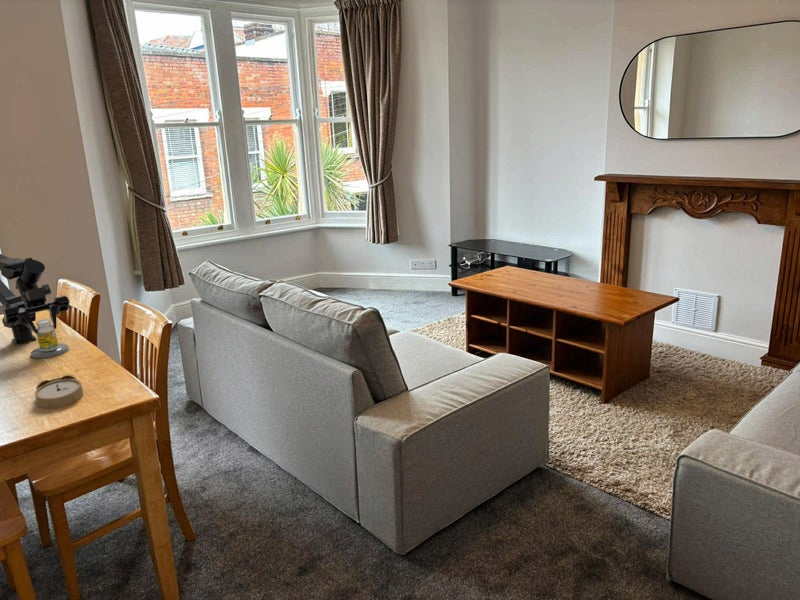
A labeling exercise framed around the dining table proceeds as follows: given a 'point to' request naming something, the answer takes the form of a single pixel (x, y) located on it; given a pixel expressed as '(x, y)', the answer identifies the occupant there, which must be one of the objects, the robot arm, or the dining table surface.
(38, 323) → the supplement bottle
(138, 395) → the dining table surface
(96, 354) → the dining table surface
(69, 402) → the alarm clock
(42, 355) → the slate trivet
